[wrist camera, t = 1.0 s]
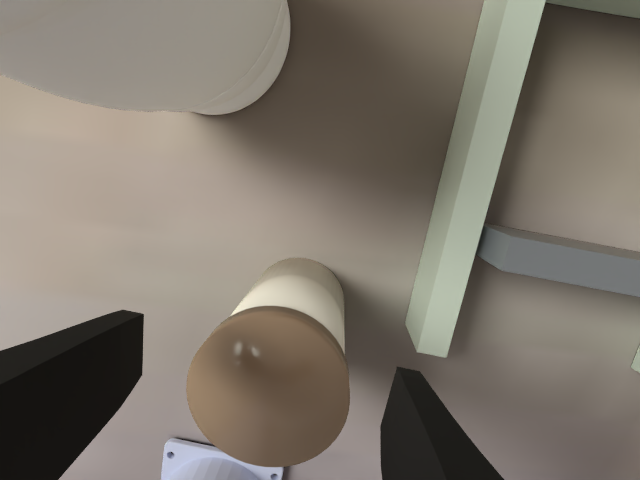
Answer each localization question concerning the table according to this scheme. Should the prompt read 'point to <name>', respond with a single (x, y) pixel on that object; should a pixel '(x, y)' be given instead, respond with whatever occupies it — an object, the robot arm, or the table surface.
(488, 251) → the plate
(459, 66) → the table surface
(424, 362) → the table surface
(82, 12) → the jar
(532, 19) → the lane
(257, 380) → the spice jar
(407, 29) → the table surface
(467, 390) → the table surface
